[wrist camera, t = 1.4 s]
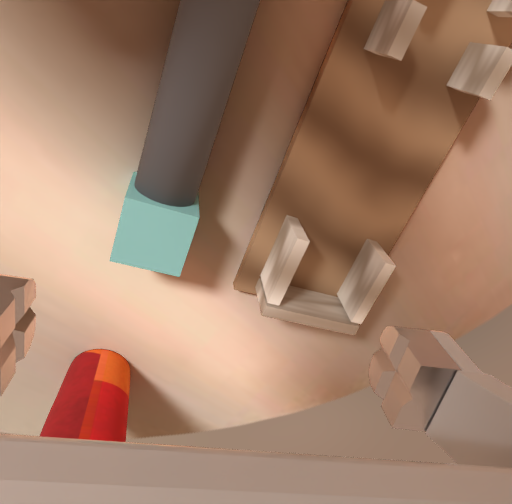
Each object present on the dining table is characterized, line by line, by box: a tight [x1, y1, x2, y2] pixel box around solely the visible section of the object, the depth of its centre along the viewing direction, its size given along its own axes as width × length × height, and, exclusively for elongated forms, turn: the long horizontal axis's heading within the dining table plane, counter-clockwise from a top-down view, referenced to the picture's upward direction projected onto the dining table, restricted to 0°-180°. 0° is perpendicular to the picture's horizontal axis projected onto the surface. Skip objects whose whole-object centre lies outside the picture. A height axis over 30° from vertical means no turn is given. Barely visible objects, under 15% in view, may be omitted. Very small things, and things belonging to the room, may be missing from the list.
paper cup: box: [40, 349, 130, 442], centre depth 35 cm, size 8×8×14 cm
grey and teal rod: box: [110, 0, 260, 277], centre depth 27 cm, size 28×5×5 cm, turn 160°
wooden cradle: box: [233, 0, 512, 336], centre depth 31 cm, size 30×12×5 cm, turn 160°
